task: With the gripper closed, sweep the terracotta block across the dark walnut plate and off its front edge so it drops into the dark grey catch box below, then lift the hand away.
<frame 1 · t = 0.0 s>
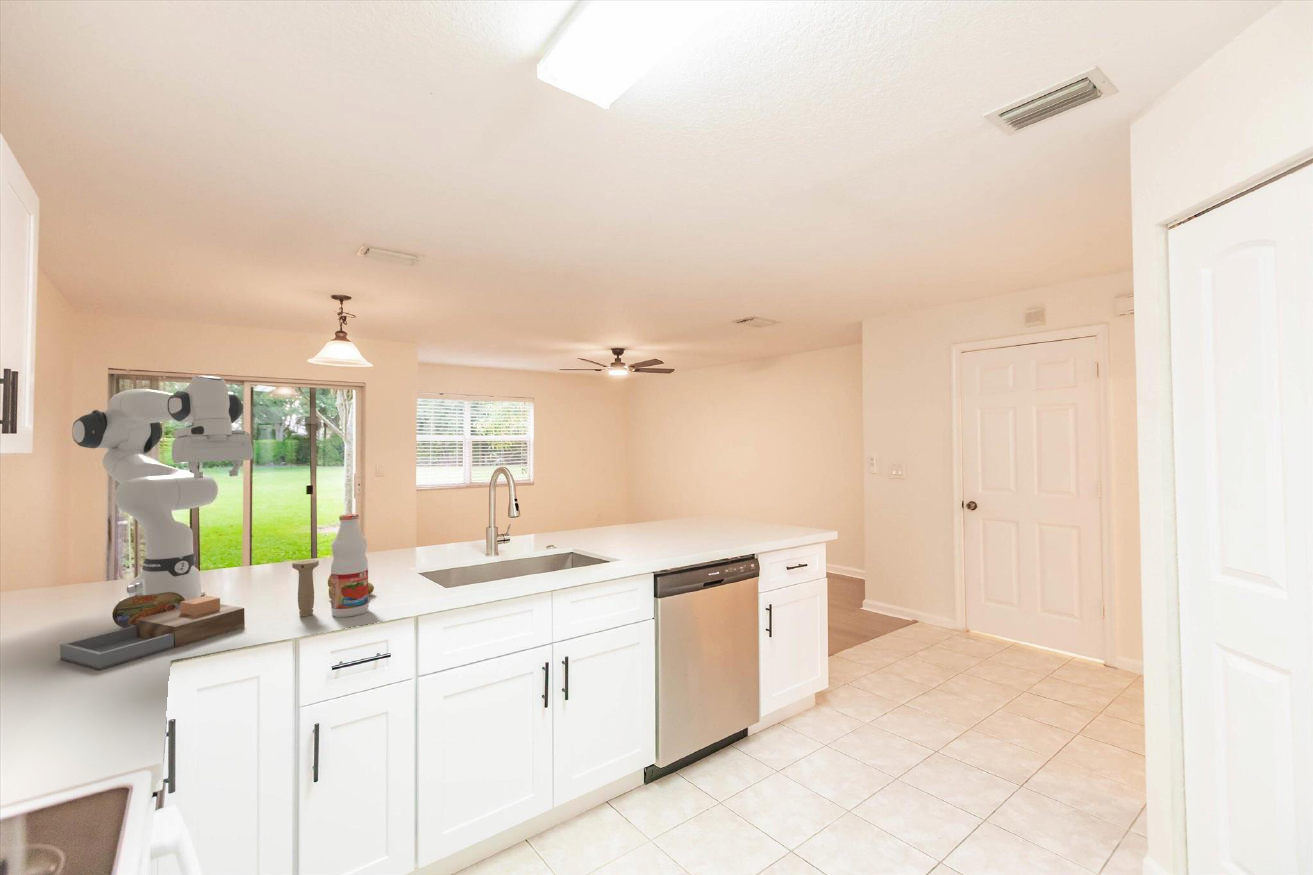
hand: (216, 477, 168), 39 cm above the countertop, tool pointing down, fingers open, 8 cm apart
catch box: (118, 653, 135), on the countertop
terracotta block: (200, 611, 151), point 5 cm above the countertop, touching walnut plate
handle: (306, 615, 163), on the countertop
tin: (151, 625, 156), on the countertop
bread roll: (351, 598, 180), on the countertop
fruit juice: (350, 613, 165), on the countertop
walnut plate: (192, 632, 149), on the countertop
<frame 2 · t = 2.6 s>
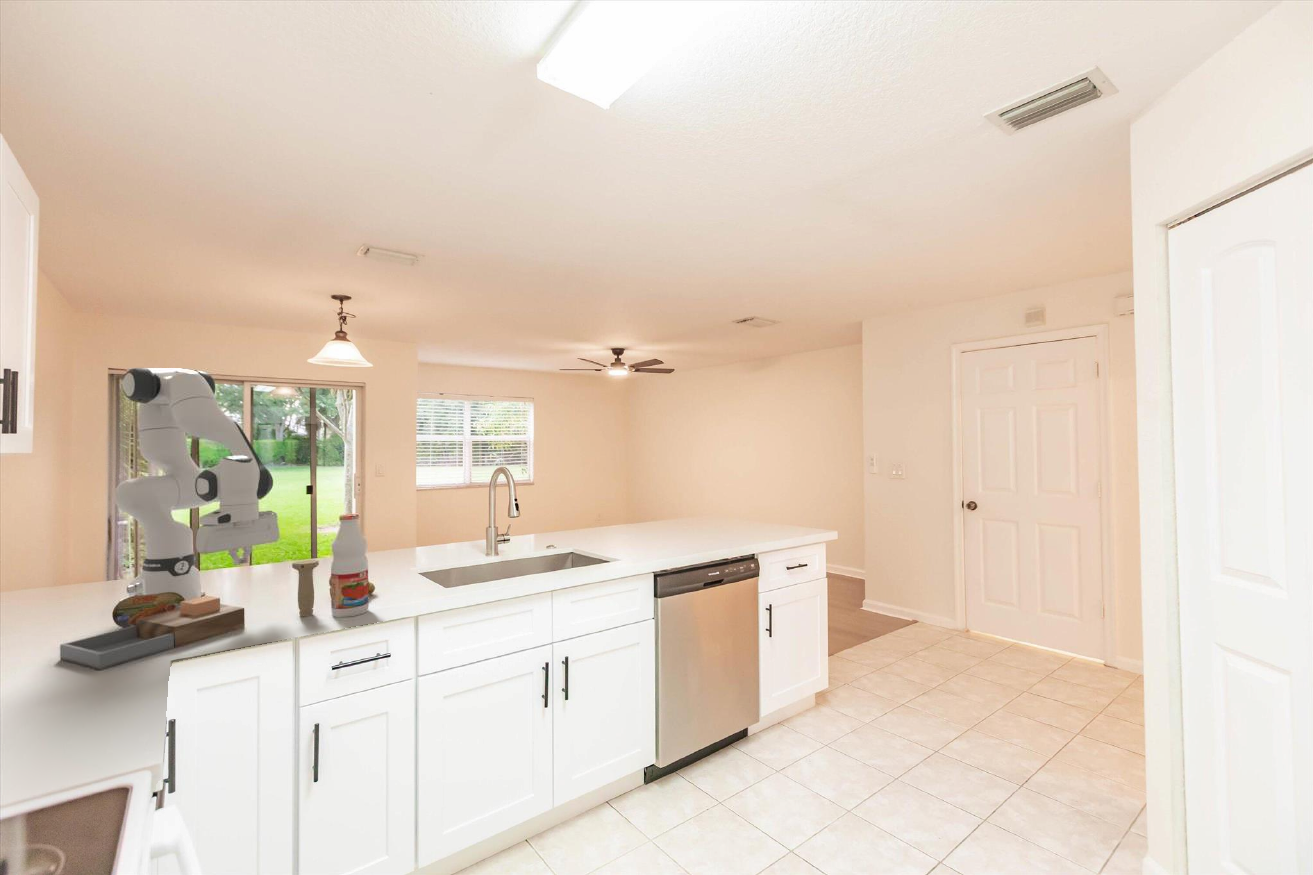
hand: (240, 564, 160), 15 cm above the countertop, tool pointing down, fingers closed
nothing on the countertop moved.
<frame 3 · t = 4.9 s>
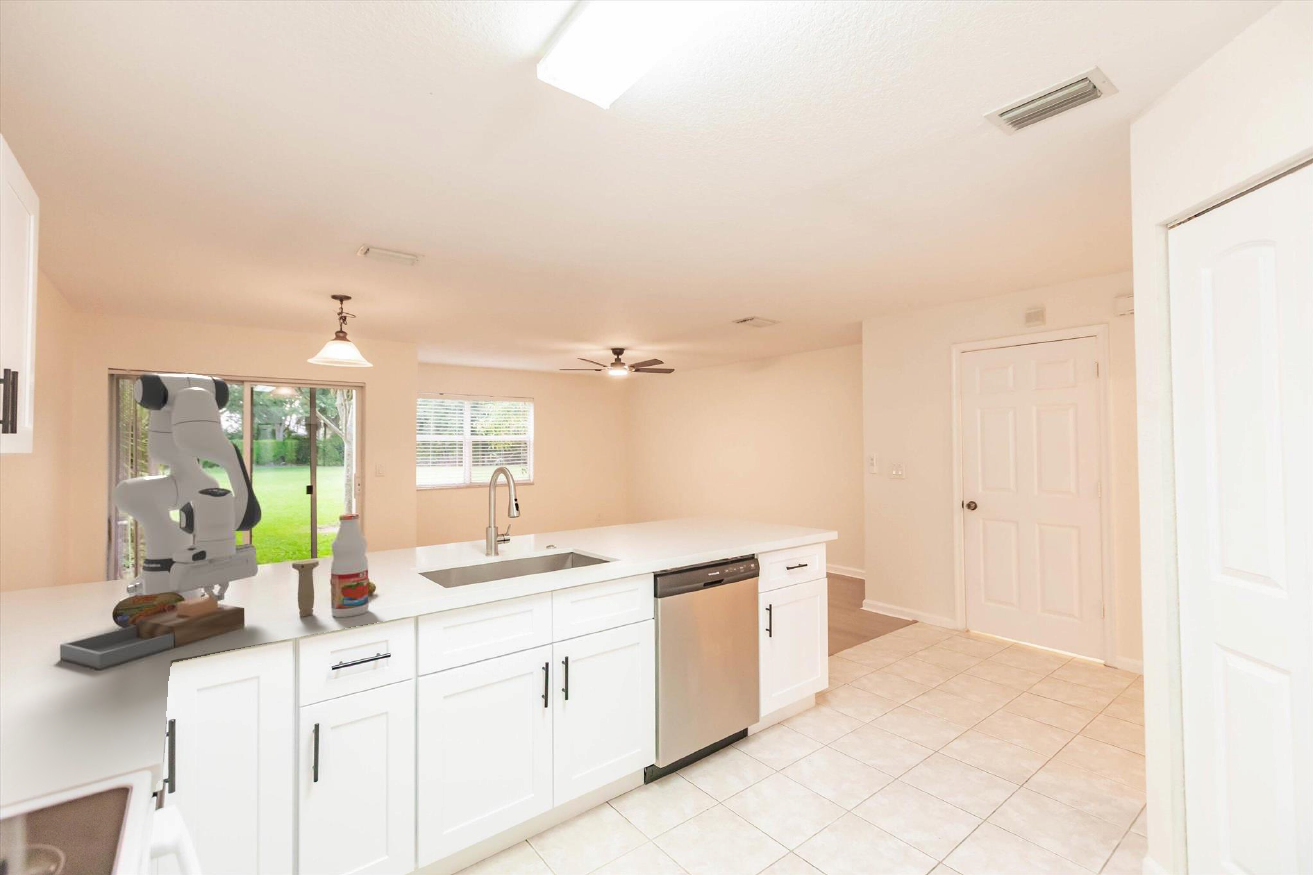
hand: (216, 600, 154), 7 cm above the countertop, tool pointing down, fingers closed
terracotta block: (197, 611, 150), point 5 cm above the countertop, touching gripper, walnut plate
everything else where it was.
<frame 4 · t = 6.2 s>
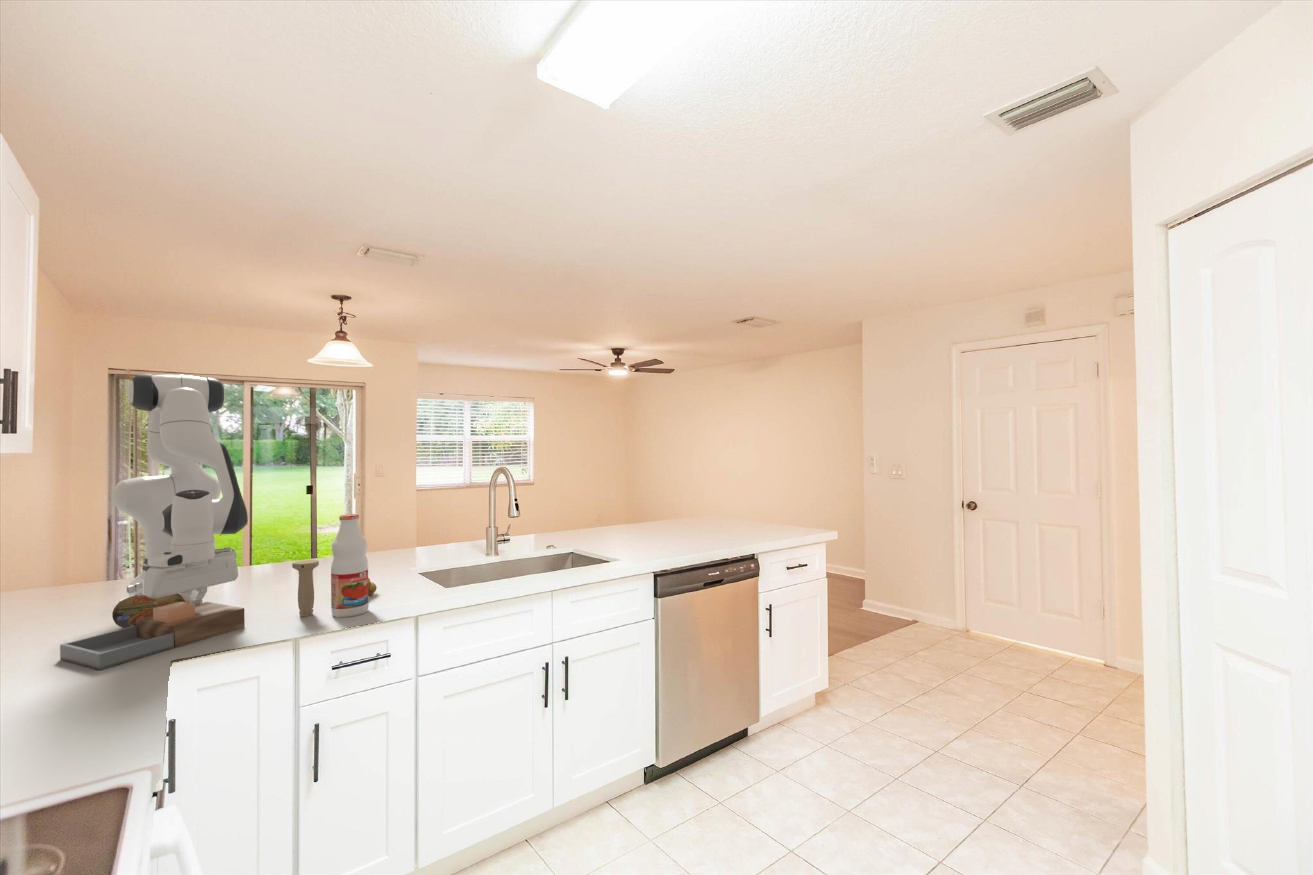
hand: (194, 606, 149), 7 cm above the countertop, tool pointing down, fingers closed
terracotta block: (174, 618, 145), point 5 cm above the countertop, touching gripper
everything else where it was.
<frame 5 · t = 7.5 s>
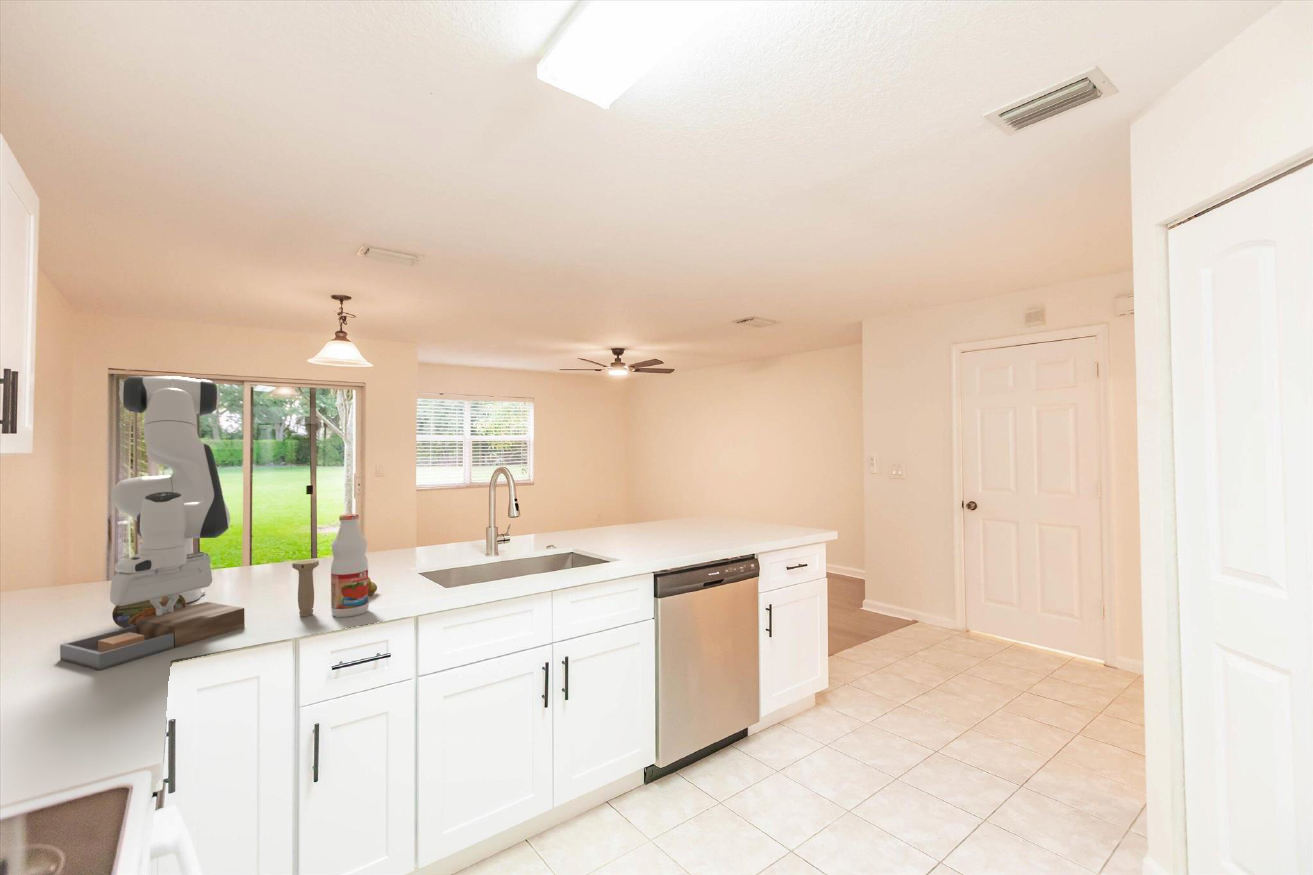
hand: (164, 613, 143), 7 cm above the countertop, tool pointing down, fingers closed
terracotta block: (121, 637, 135), point 4 cm above the countertop, tilted 180°, touching catch box
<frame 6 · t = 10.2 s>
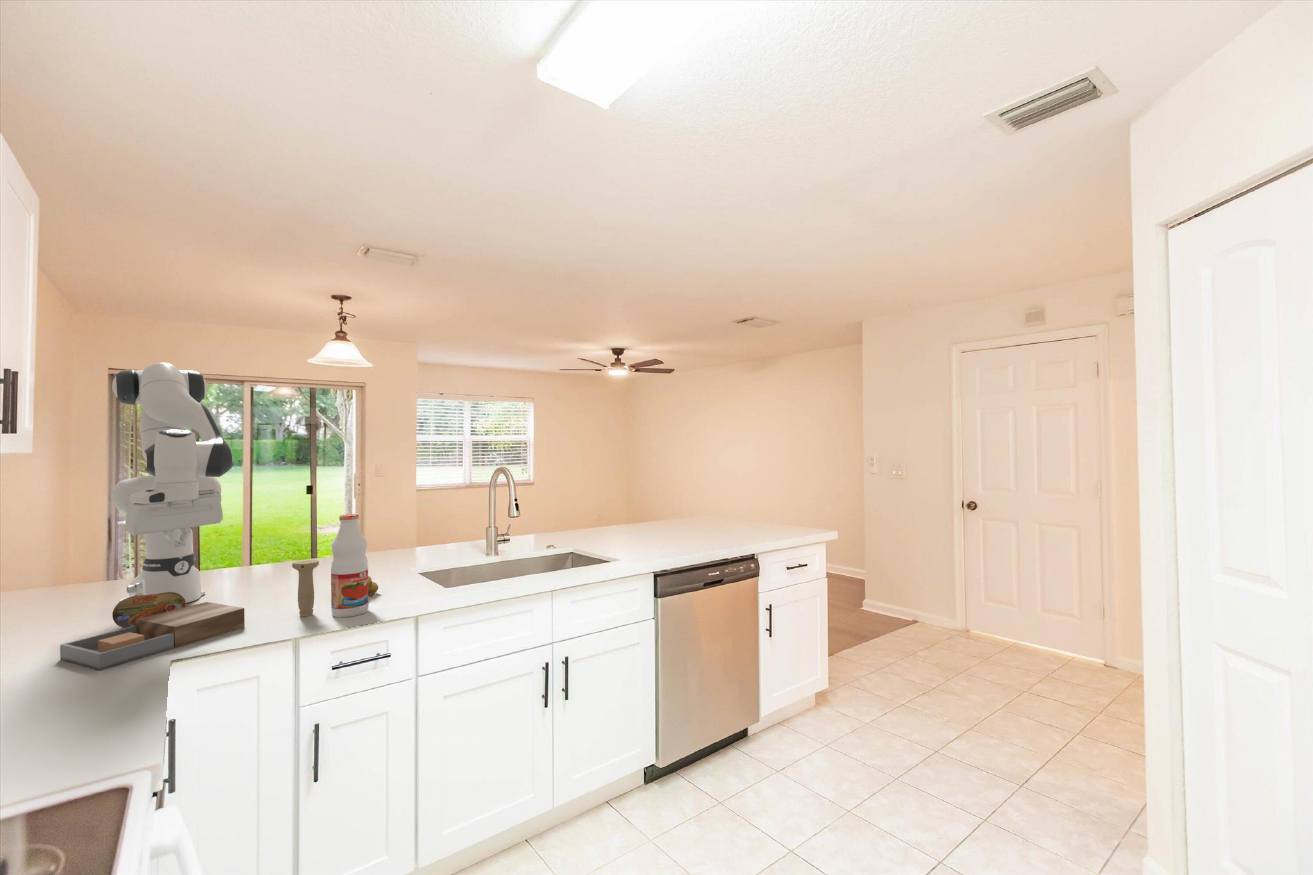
hand: (177, 546, 148), 22 cm above the countertop, tool pointing down, fingers closed
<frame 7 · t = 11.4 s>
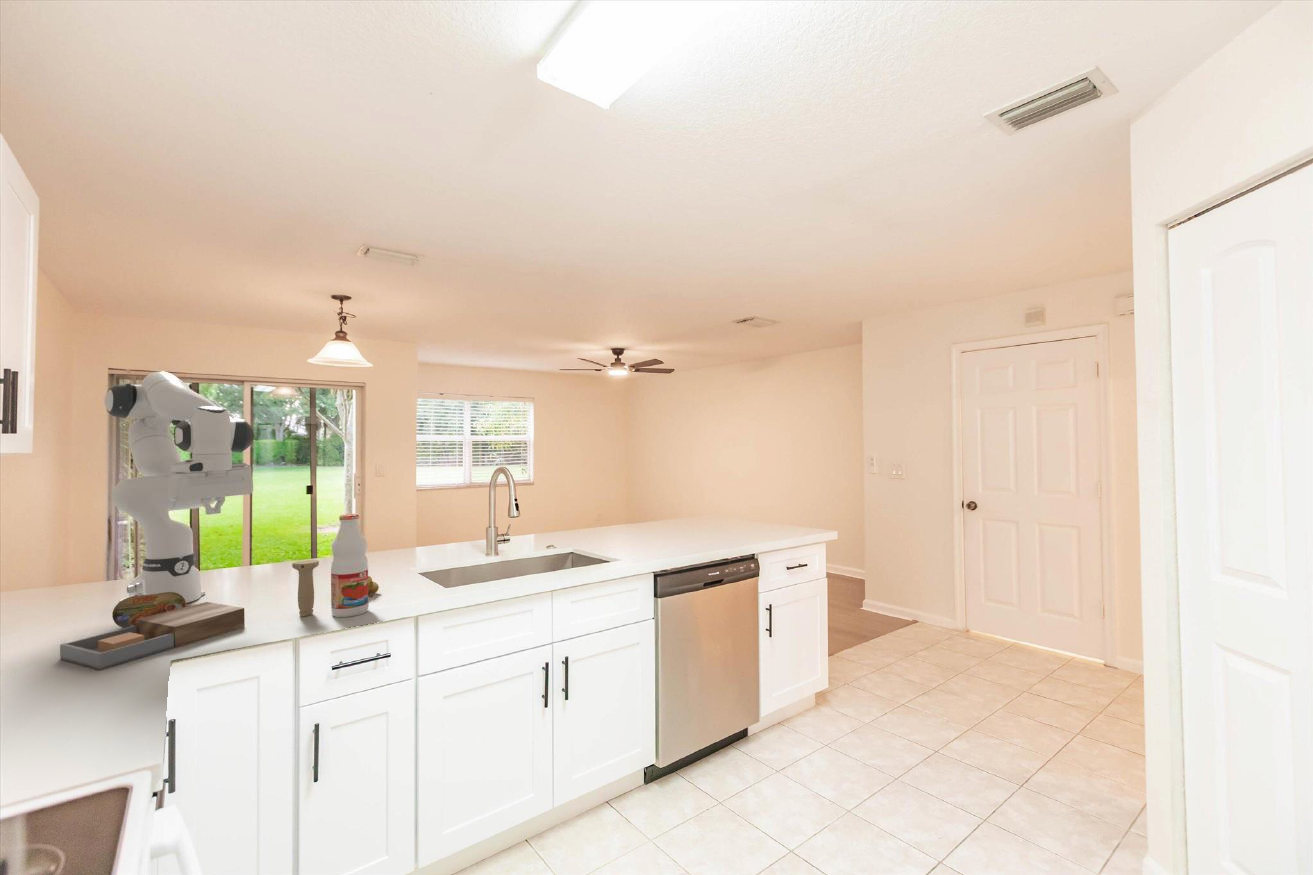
hand: (213, 513, 161), 29 cm above the countertop, tool pointing down, fingers closed
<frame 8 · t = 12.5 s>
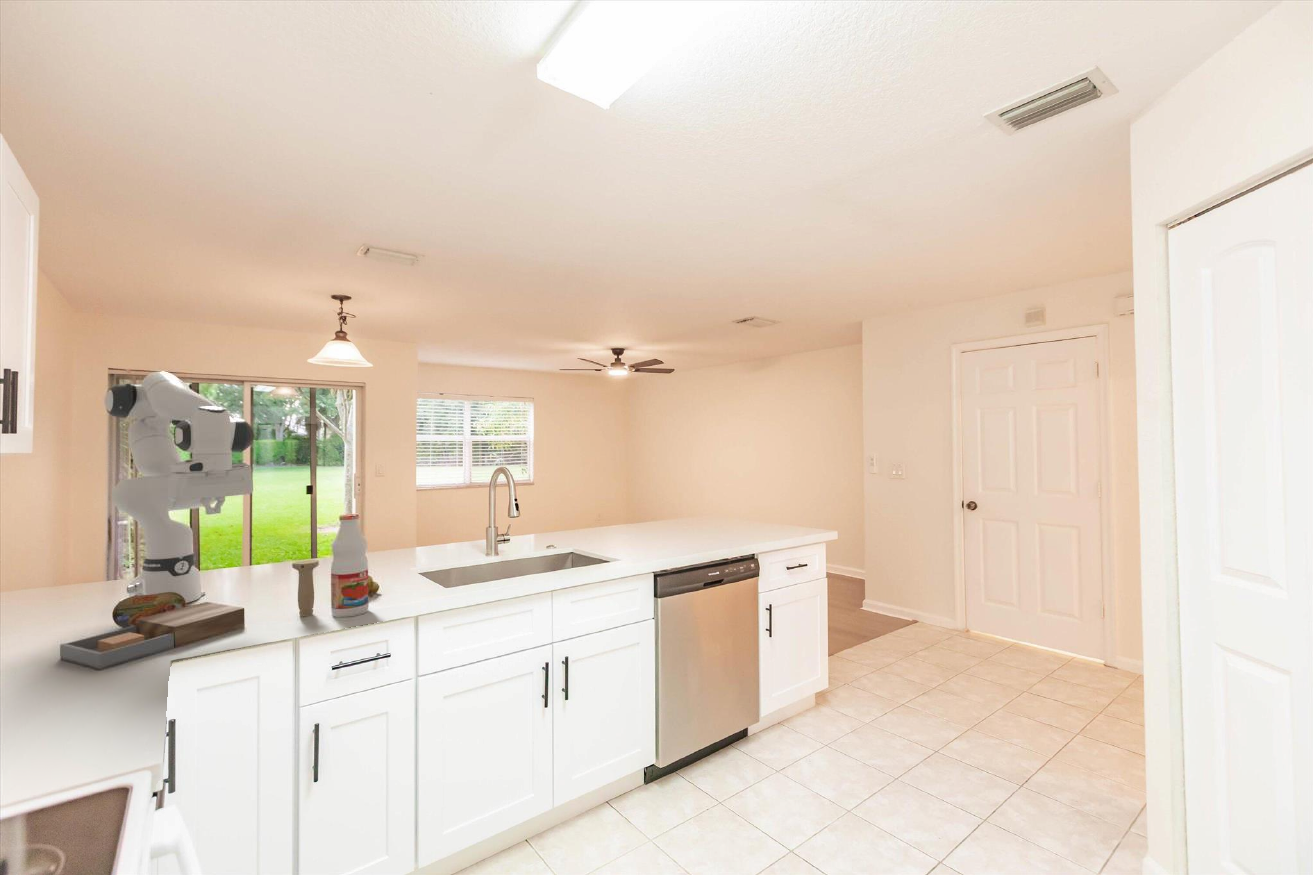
hand: (213, 513, 161), 29 cm above the countertop, tool pointing down, fingers closed
at the end: terracotta block inside the target area on the catch box (0.3 cm from its centre), point 3.6 cm above the catch box's base; terracotta block touching catch box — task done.
